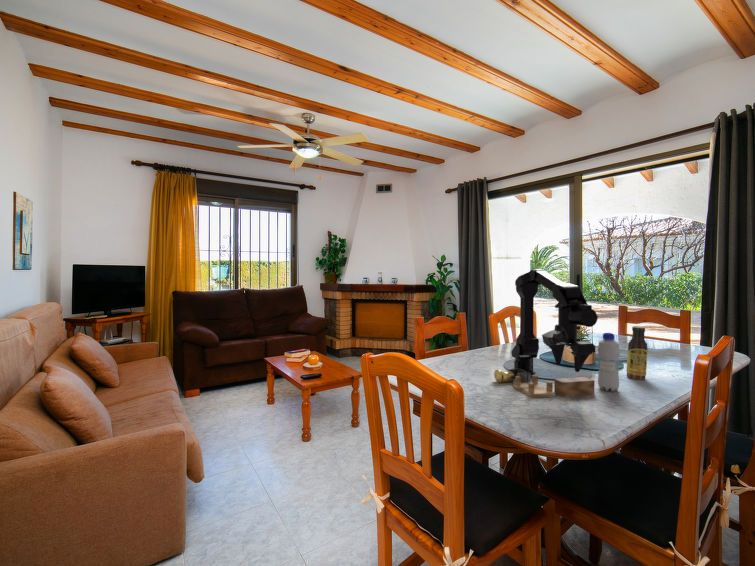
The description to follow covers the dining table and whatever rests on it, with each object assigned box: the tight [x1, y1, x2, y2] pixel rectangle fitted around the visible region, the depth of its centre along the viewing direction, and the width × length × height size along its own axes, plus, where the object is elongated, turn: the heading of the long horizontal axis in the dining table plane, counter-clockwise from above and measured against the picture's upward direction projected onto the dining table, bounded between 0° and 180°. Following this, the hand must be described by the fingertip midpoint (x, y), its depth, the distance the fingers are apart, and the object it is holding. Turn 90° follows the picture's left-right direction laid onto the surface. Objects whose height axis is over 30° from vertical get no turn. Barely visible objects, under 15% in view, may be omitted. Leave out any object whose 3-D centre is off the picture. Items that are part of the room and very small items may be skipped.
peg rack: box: [512, 374, 556, 399], centre depth 128 cm, size 12×8×4 cm, turn 11°
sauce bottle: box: [626, 326, 648, 381], centre depth 141 cm, size 6×6×20 cm
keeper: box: [507, 367, 531, 383], centre depth 140 cm, size 5×8×4 cm, turn 11°
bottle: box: [597, 332, 621, 392], centre depth 129 cm, size 7×7×20 cm
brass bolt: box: [493, 369, 515, 383], centre depth 139 cm, size 6×5×5 cm
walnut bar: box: [553, 376, 595, 398], centre depth 125 cm, size 12×4×5 cm, turn 99°
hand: (567, 368), depth 125 cm, fingers open, 9 cm apart
